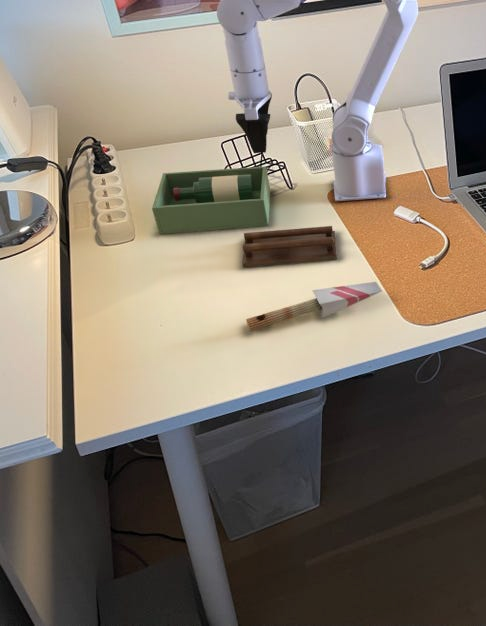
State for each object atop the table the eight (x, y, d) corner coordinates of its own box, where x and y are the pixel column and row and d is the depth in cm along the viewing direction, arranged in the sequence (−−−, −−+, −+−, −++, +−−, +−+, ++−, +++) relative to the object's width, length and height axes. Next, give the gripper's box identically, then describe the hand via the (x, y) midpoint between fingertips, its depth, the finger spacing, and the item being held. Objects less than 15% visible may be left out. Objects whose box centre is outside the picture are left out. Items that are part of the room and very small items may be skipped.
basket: (270, 190, 138) (266, 166, 134) (268, 225, 127) (263, 199, 124) (169, 198, 134) (163, 173, 131) (159, 234, 124) (151, 208, 121)
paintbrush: (382, 285, 108) (248, 324, 101) (384, 299, 110) (252, 339, 103) (373, 272, 111) (242, 309, 104) (375, 286, 113) (246, 324, 106)
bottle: (256, 204, 134) (253, 176, 134) (253, 201, 129) (249, 172, 128) (180, 210, 132) (176, 181, 131) (173, 207, 127) (169, 177, 126)
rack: (335, 234, 125) (333, 219, 124) (337, 259, 119) (335, 244, 117) (245, 242, 123) (242, 226, 121) (243, 267, 117) (239, 252, 115)
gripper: (226, 54, 127) (240, 128, 135) (219, 83, 115) (234, 162, 124) (267, 52, 128) (278, 126, 136) (264, 81, 117) (277, 159, 125)
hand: (260, 143), depth 130 cm, fingers open, 7 cm apart
